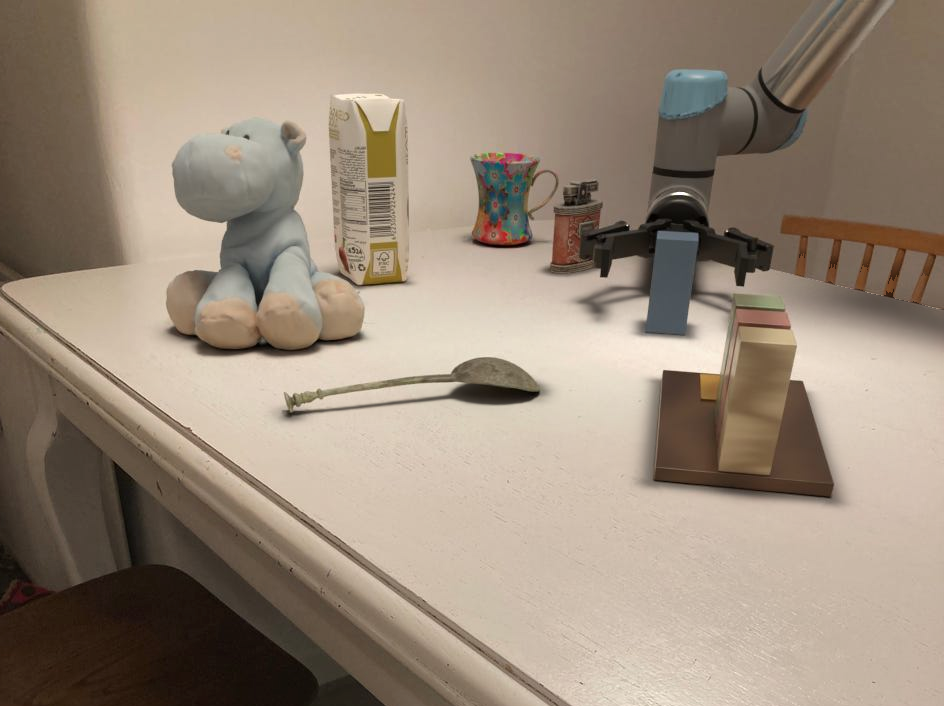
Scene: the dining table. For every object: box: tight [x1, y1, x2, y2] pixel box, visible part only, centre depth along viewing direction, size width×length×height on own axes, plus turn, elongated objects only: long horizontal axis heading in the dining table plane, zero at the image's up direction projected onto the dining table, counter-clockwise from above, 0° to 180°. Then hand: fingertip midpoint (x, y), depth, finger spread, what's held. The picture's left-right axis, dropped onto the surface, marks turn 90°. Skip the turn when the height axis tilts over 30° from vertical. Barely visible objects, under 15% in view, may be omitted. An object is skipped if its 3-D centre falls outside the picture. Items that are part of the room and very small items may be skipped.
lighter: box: [549, 178, 604, 274], centre depth 119 cm, size 8×3×10 cm, turn 137°
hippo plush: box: [165, 116, 366, 351], centre depth 92 cm, size 18×23×18 cm
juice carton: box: [328, 93, 410, 286], centre depth 110 cm, size 8×9×19 cm
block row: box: [653, 293, 835, 498], centre depth 73 cm, size 12×22×10 cm, turn 169°
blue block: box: [644, 231, 699, 336], centre depth 97 cm, size 4×4×9 cm
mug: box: [469, 152, 560, 246], centre depth 131 cm, size 12×9×11 cm
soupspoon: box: [283, 356, 541, 414], centre depth 80 cm, size 22×3×7 cm
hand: (673, 268), depth 96 cm, fingers open, 13 cm apart
